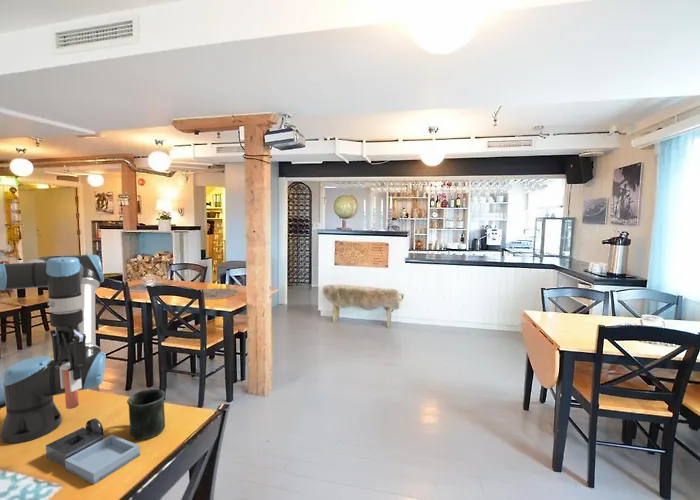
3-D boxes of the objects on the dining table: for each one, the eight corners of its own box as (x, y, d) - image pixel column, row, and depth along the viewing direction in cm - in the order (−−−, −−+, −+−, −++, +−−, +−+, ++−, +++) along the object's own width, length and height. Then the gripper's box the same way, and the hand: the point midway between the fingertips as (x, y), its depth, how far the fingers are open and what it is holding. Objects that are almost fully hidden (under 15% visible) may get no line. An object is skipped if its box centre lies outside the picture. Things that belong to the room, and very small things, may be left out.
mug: (136, 446, 111) (135, 409, 110) (119, 428, 121) (117, 394, 120) (172, 430, 120) (171, 396, 119) (153, 415, 129) (152, 382, 128)
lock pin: (61, 407, 106) (58, 365, 105) (75, 401, 110) (73, 360, 108) (68, 411, 104) (66, 367, 103) (83, 404, 108) (81, 362, 107)
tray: (65, 469, 101) (64, 459, 101) (112, 443, 113) (111, 434, 112) (94, 484, 96) (93, 473, 95) (140, 455, 107) (139, 445, 107)
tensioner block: (46, 458, 106) (44, 434, 105) (88, 436, 116) (87, 414, 116) (66, 468, 102) (64, 443, 101) (108, 444, 112) (107, 421, 111)
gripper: (34, 310, 104) (40, 387, 106) (69, 317, 97) (74, 400, 99) (63, 304, 111) (68, 377, 113) (98, 311, 104) (102, 388, 106)
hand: (71, 387), depth 106 cm, fingers closed on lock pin, 4 cm apart
